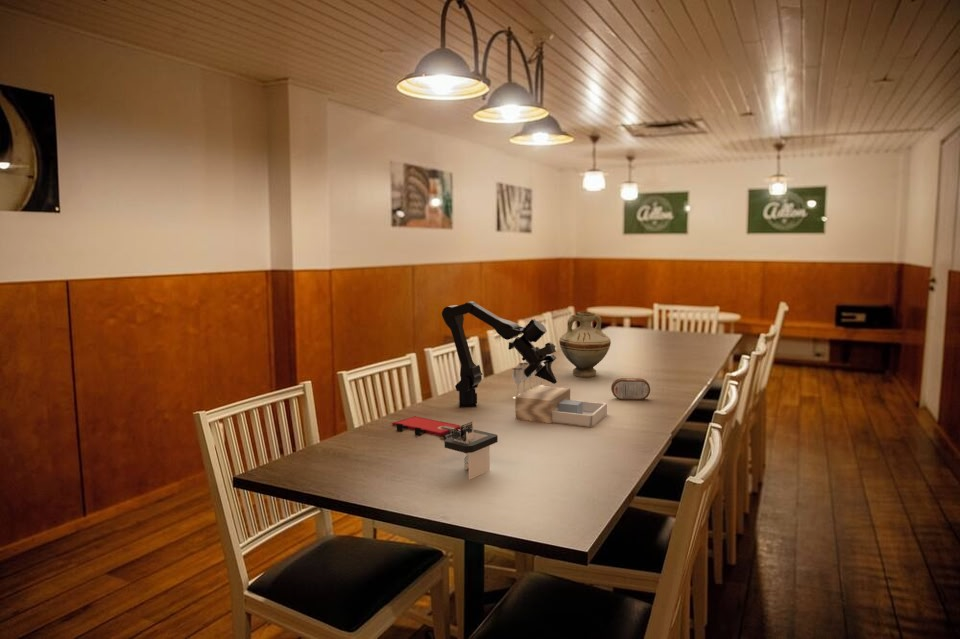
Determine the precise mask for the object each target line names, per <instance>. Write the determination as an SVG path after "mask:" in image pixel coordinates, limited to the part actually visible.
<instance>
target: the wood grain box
mask: <svg viewBox="0 0 960 639" xmlns="http://www.w3.org/2000/svg"><path fill="white" fill-rule="evenodd" d="M538 385H539V384H538ZM538 385H537V384H536V386H533V387H530V388H529V389H527V390H525V392H524V391H523V392H522V394H521V393H519V394H520V395H519V394H518V396H517V395H516V397H515V396H514V397H515V399H514V400H515V402H514V403H515V404H514V405H515V420H520V419H522V420H521V421H528V420H529V421H530V422H536V421H537V422H538V423H544V422H545V424H553V423H552V411H553V410H555V409H556V408H558V403H559V402H561V401H563V400H564V399H565V400H571V388H568V387H557V386H547V385H545V386H538Z"/></svg>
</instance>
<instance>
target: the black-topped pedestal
mask: <svg viewBox="0 0 960 639" xmlns="http://www.w3.org/2000/svg"><path fill="white" fill-rule="evenodd" d="M459 425H460V424H459ZM461 426H463V427H462V428H461ZM457 431H459V432H457ZM455 432H456V434H455ZM455 432H454V428H452V436H451V437H449V438H445V439H444V448H445V449H448V450H453V451H456V452H459V453H463V454H465V455H466V456H465V458H464V460H465V464H464V471H465V470H466V471H467V470H468V481H469V480H472V479H474V478H477V477H478V476H480V475H483V474H485V473H487V472H489V471H491V470H490V468H491V467H490V466H491V465H490V464H491V463H490V462H491V461H490V446H492V445H494V444H496V443H498V442H499V440H498V438H499V436H498V434H496V433H491V432H487V431H481V430H478V429H475V428H474V421H473V420H472V421H470V422H467V423H465V424H462V425H460V430H455Z"/></svg>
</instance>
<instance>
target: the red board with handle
mask: <svg viewBox="0 0 960 639" xmlns="http://www.w3.org/2000/svg"><path fill="white" fill-rule="evenodd" d="M391 426H395V427H396V431H397V432H400V433H401V432H403V431H404V430H411V431H414V436H416V437H420V436H422V434H430V435H434V436H438V437H439V438H443V439H447V438H449V437H451V436H452V428H454V432H455V430H458V429H460V424H455V423H450V422H444V421H441V420H435V419H431V418H425V417H420V416H411V417H408V418H404V419H401V420H397V421H394V422H392V423H391ZM462 427H463V426H462V425H461V428H462ZM403 429H404V430H403ZM459 431H460V430H459ZM459 431H457V432H459ZM455 434H456V432H455Z"/></svg>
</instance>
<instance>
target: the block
mask: <svg viewBox="0 0 960 639" xmlns="http://www.w3.org/2000/svg"><path fill="white" fill-rule="evenodd" d="M574 400H575V399H570V400H565V399H564V400H563V401H561V402H559V403H558V411H559V412H567V413H576V414H583V401H584V400H577V401H574Z"/></svg>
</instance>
